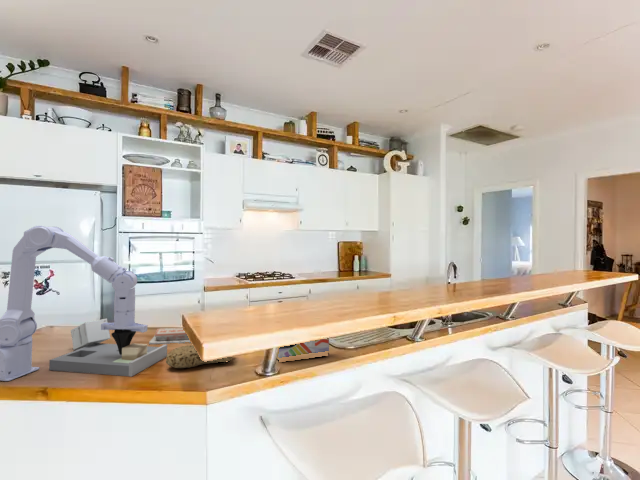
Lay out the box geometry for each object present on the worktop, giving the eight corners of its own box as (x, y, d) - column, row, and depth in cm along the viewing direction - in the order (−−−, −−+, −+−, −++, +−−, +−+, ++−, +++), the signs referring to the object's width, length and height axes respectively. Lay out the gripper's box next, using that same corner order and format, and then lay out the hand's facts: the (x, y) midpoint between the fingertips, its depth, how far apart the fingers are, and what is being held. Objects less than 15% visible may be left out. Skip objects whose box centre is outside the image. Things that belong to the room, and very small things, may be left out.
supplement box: (69, 330, 124) (84, 321, 118) (92, 326, 130) (108, 317, 124) (72, 350, 123) (88, 343, 116) (95, 345, 129) (111, 338, 122)
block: (136, 360, 105) (137, 349, 105) (121, 359, 106) (122, 348, 106) (147, 355, 110) (147, 344, 110) (132, 354, 111) (132, 343, 111)
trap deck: (131, 376, 101) (132, 362, 101) (49, 370, 104) (49, 356, 104) (167, 356, 118) (167, 344, 118) (95, 351, 122) (95, 340, 122)
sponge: (231, 359, 121) (171, 350, 117) (236, 338, 120) (176, 328, 116) (227, 381, 108) (161, 371, 104) (233, 358, 107) (166, 347, 103)
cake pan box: (276, 364, 113) (277, 310, 113) (272, 359, 118) (273, 307, 118) (329, 358, 120) (331, 307, 120) (324, 353, 125) (325, 304, 125)
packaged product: (201, 325, 145) (198, 331, 135) (201, 336, 145) (198, 344, 135) (155, 326, 141) (148, 333, 131) (154, 338, 141) (148, 345, 131)
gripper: (153, 309, 112) (152, 351, 112) (112, 306, 114) (111, 348, 113) (139, 313, 105) (138, 358, 105) (96, 311, 107) (95, 355, 106)
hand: (123, 353), depth 109 cm, fingers closed
